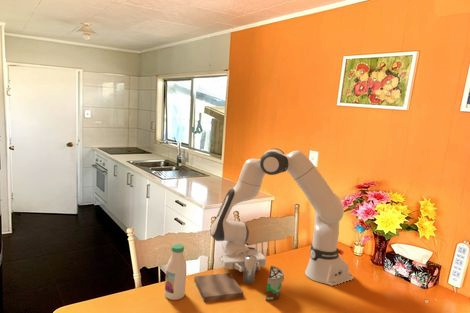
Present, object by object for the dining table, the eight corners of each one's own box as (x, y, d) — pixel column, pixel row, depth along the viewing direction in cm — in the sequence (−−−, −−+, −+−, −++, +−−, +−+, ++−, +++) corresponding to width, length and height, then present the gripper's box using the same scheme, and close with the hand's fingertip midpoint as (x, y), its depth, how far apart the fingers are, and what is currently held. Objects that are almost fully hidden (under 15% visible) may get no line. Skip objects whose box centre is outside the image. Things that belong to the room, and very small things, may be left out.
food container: (281, 305, 129) (283, 281, 127) (265, 302, 130) (267, 278, 129) (282, 289, 141) (285, 267, 139) (268, 287, 142) (270, 264, 141)
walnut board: (229, 277, 147) (229, 272, 147) (243, 296, 133) (243, 292, 132) (194, 280, 142) (194, 276, 141) (204, 301, 127) (204, 297, 127)
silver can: (251, 277, 148) (253, 254, 147) (256, 283, 144) (258, 259, 142) (241, 279, 147) (243, 255, 145) (245, 284, 142) (247, 260, 141)
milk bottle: (182, 288, 135) (186, 241, 132) (186, 299, 127) (189, 249, 125) (163, 290, 132) (166, 242, 129) (165, 301, 125) (169, 250, 122)
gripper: (218, 250, 152) (228, 264, 139) (259, 247, 160) (272, 260, 147) (217, 263, 153) (227, 278, 140) (257, 260, 160) (270, 273, 148)
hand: (250, 269), depth 144 cm, fingers open, 6 cm apart
